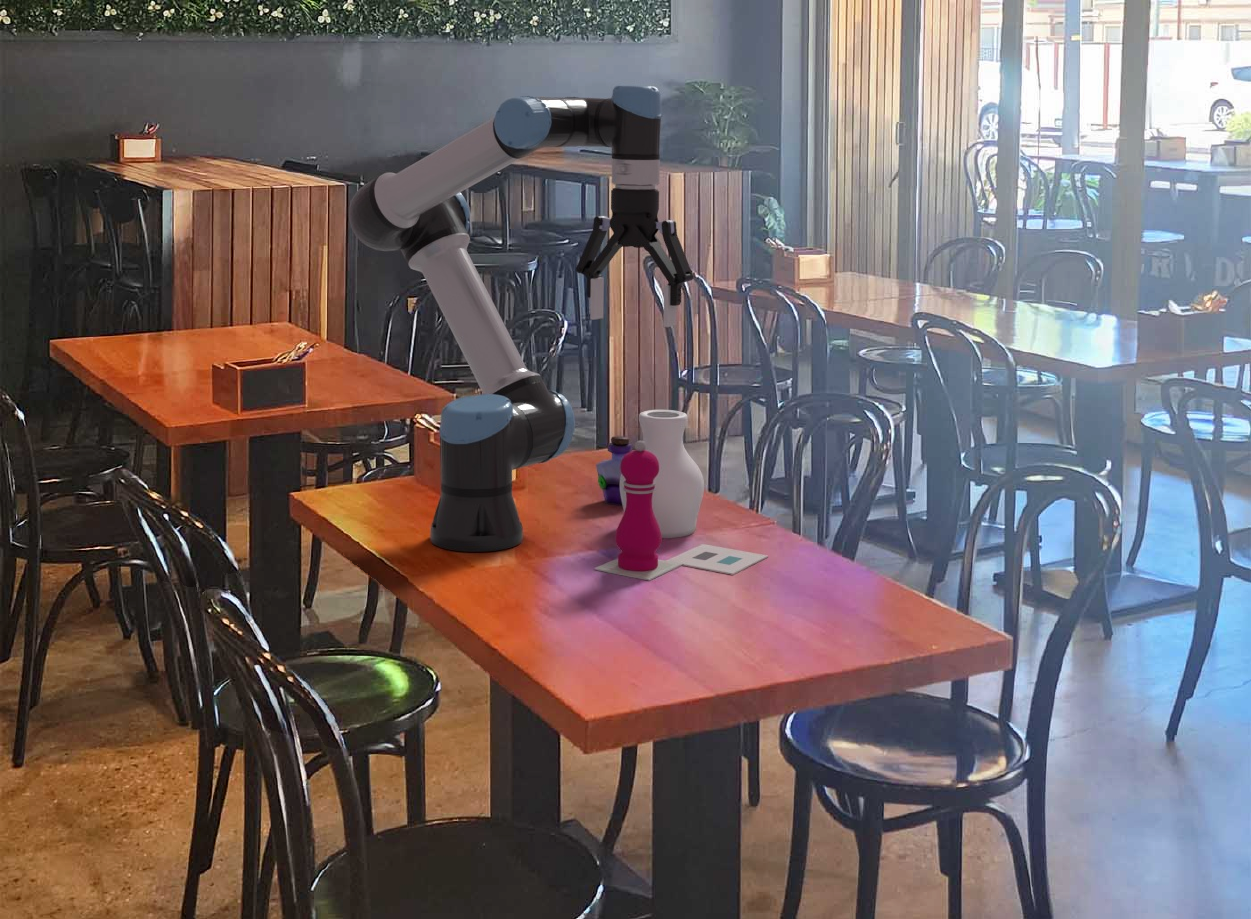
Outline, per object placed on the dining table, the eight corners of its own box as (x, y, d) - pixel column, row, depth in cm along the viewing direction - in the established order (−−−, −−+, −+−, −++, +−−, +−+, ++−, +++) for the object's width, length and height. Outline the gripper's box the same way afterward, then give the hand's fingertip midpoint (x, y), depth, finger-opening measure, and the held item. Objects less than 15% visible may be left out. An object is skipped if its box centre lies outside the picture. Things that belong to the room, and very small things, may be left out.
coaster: (594, 569, 250) (594, 568, 250) (628, 555, 258) (628, 553, 258) (649, 580, 245) (649, 579, 245) (682, 565, 253) (682, 563, 253)
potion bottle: (585, 501, 292) (586, 436, 289) (616, 493, 298) (617, 430, 296) (621, 510, 286) (622, 444, 284) (652, 501, 293) (654, 436, 290)
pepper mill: (656, 574, 248) (659, 446, 243) (610, 570, 249) (612, 444, 245) (664, 561, 254) (667, 437, 250) (619, 558, 256) (622, 434, 251)
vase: (683, 515, 284) (686, 403, 279) (715, 536, 271) (719, 419, 266) (607, 521, 279) (608, 407, 274) (636, 543, 266) (638, 424, 261)
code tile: (665, 562, 255) (665, 560, 255) (702, 545, 265) (702, 543, 265) (732, 574, 249) (732, 573, 249) (768, 557, 259) (768, 555, 259)
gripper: (555, 184, 255) (554, 318, 259) (693, 191, 242) (689, 332, 247) (581, 182, 261) (580, 313, 266) (717, 189, 248) (713, 326, 253)
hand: (632, 322), depth 256 cm, fingers open, 13 cm apart
